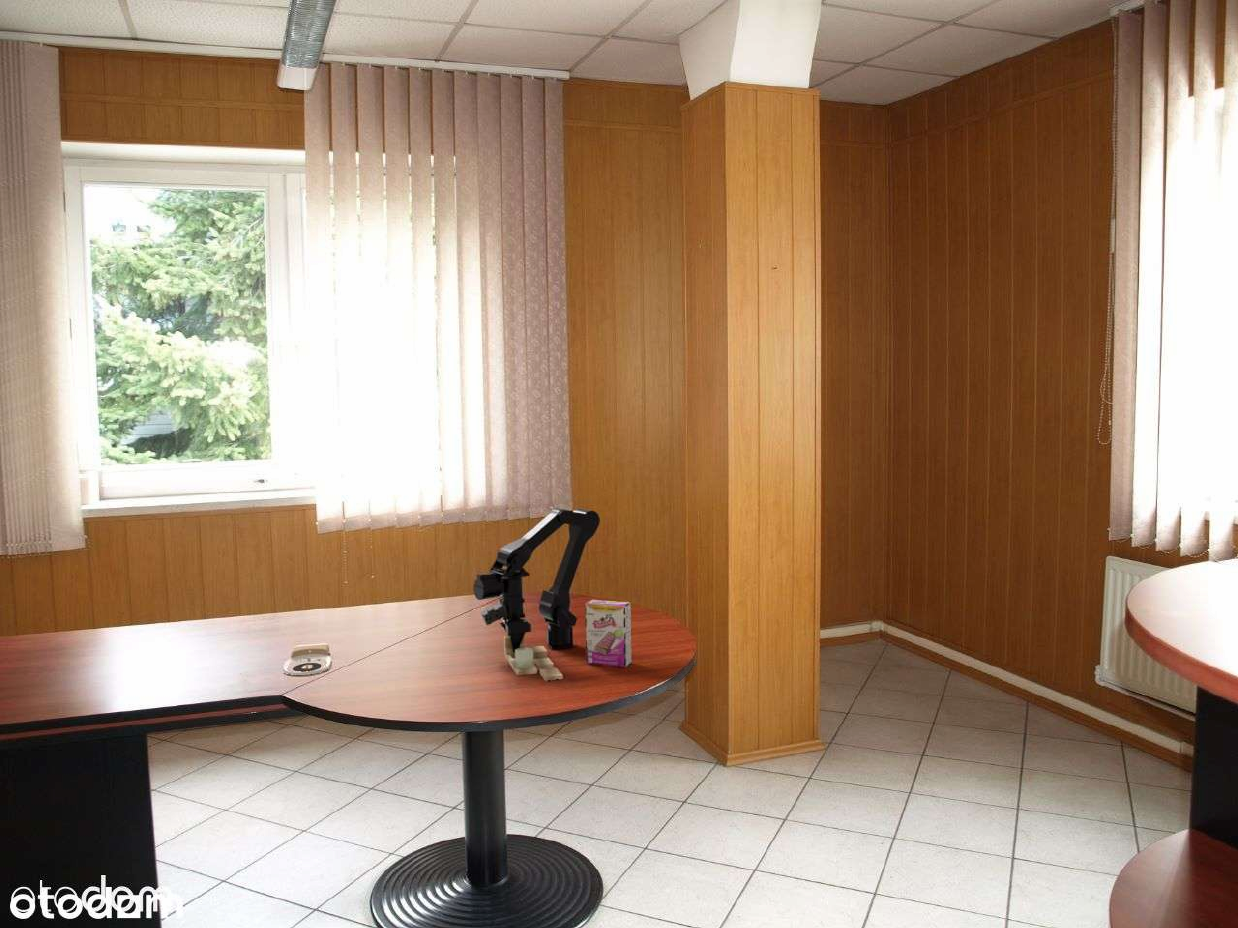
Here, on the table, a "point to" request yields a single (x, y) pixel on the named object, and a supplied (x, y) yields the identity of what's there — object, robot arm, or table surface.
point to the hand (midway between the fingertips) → (514, 650)
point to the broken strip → (545, 664)
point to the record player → (309, 659)
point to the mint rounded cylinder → (524, 658)
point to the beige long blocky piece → (509, 654)
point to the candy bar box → (608, 633)
